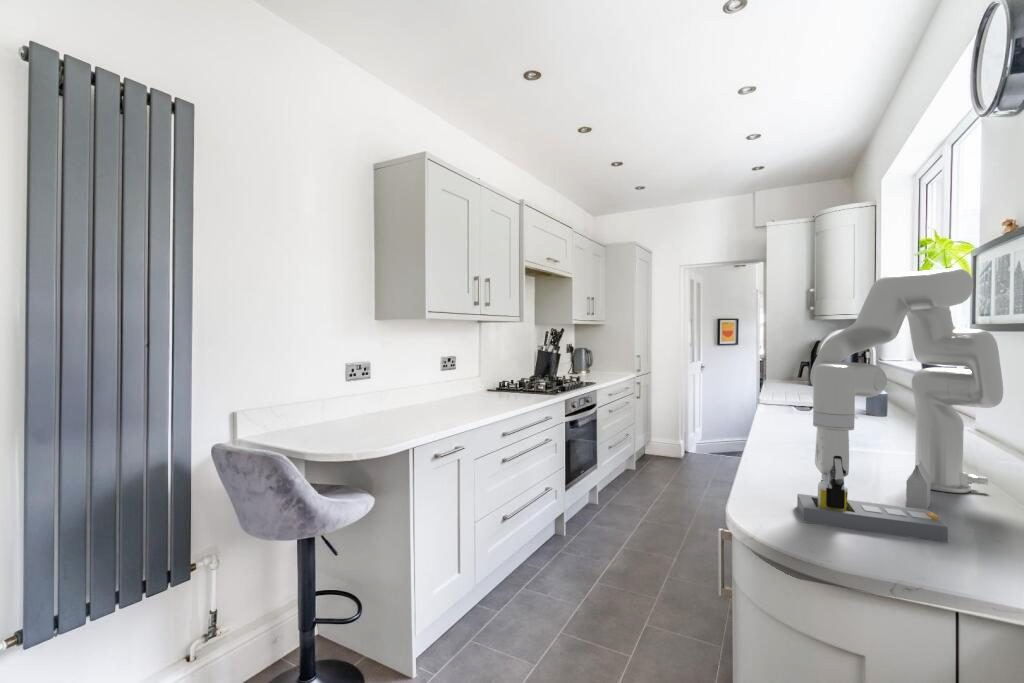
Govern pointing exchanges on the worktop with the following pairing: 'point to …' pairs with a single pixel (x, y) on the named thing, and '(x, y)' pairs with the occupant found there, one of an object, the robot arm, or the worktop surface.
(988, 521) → the worktop surface
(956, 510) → the worktop surface
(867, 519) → the power strip
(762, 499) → the worktop surface
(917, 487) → the white gable-top box
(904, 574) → the worktop surface
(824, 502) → the supplement bottle
